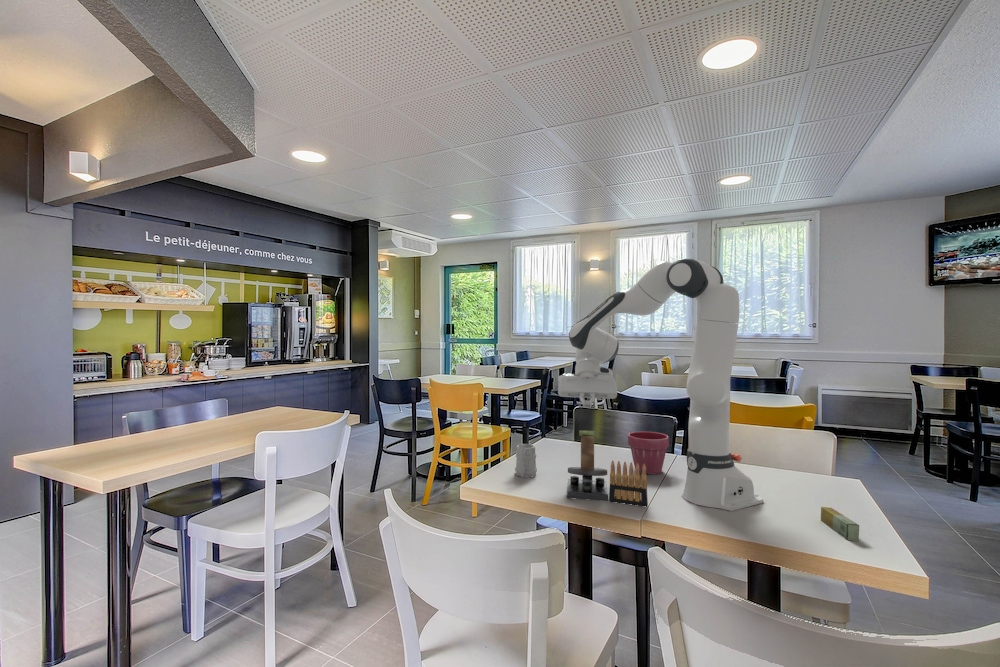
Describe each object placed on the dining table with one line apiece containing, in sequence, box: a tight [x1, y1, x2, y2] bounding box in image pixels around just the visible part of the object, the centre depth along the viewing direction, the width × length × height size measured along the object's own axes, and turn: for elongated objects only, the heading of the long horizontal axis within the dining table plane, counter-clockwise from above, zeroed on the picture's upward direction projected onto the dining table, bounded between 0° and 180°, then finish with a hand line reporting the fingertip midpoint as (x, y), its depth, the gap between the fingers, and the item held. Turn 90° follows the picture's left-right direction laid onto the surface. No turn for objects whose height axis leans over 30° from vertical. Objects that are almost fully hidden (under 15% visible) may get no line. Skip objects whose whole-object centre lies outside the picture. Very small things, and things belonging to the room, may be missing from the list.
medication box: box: [820, 506, 860, 542], centre depth 114 cm, size 12×3×4 cm, turn 172°
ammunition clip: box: [608, 460, 649, 508], centre depth 131 cm, size 11×2×12 cm, turn 68°
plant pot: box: [627, 431, 670, 475], centre depth 164 cm, size 14×14×13 cm
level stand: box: [566, 475, 609, 502], centre depth 140 cm, size 12×12×5 cm
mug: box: [514, 443, 538, 478], centre depth 156 cm, size 8×12×12 cm, turn 163°
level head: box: [567, 430, 608, 477], centre depth 141 cm, size 12×12×13 cm
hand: (587, 406), depth 154 cm, fingers closed
